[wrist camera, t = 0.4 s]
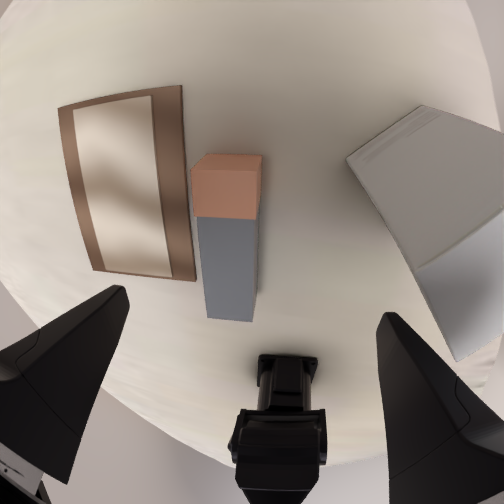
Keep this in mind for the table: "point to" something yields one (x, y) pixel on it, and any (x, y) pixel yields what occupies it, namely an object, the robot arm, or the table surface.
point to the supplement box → (444, 217)
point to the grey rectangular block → (228, 231)
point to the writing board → (131, 182)
